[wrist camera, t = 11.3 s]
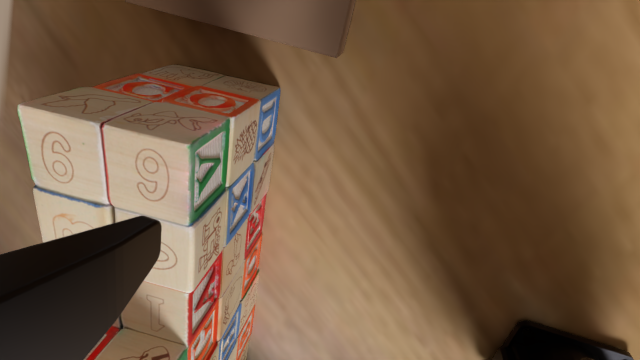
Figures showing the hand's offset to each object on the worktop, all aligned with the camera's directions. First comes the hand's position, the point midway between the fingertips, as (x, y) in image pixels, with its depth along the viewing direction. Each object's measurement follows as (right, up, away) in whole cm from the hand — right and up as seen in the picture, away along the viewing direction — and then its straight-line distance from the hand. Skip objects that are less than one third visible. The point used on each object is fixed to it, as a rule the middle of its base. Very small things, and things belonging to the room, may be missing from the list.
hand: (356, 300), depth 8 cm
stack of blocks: (-7, -1, +17) cm, 19 cm away
